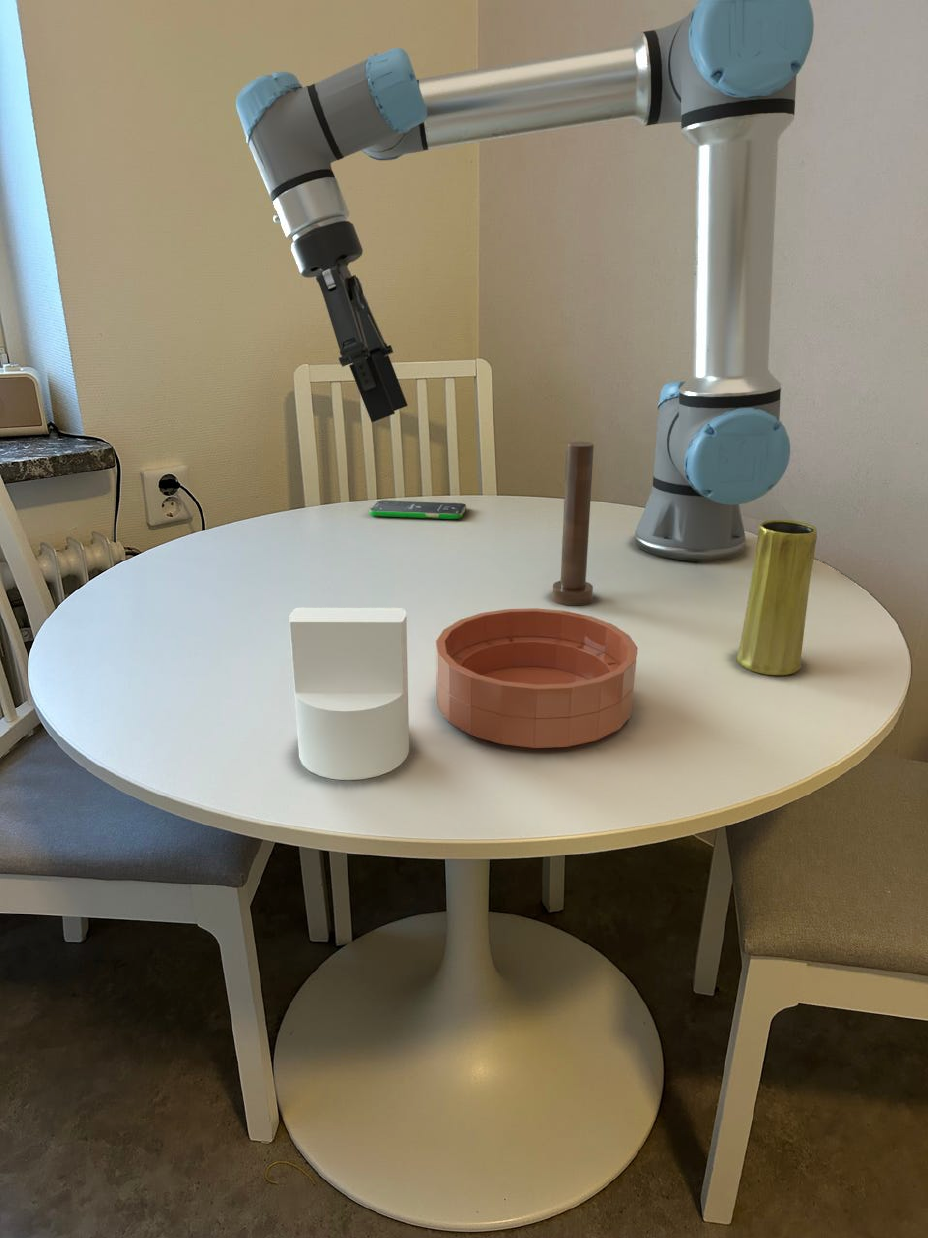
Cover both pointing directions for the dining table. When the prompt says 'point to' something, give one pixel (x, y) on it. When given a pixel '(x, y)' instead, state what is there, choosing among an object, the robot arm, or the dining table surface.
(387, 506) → the smartphone
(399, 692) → the base with upright slab
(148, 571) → the dining table surface
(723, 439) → the robot arm
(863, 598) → the dining table surface
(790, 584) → the vase
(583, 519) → the brown peg
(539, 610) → the bowl
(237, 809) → the dining table surface
